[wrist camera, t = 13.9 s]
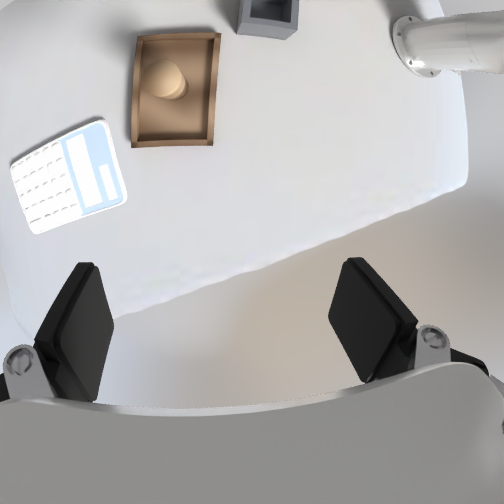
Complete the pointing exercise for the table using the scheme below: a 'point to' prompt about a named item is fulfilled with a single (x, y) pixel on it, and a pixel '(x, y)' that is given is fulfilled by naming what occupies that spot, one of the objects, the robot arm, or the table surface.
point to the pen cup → (268, 18)
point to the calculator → (69, 178)
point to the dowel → (164, 80)
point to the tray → (185, 109)
